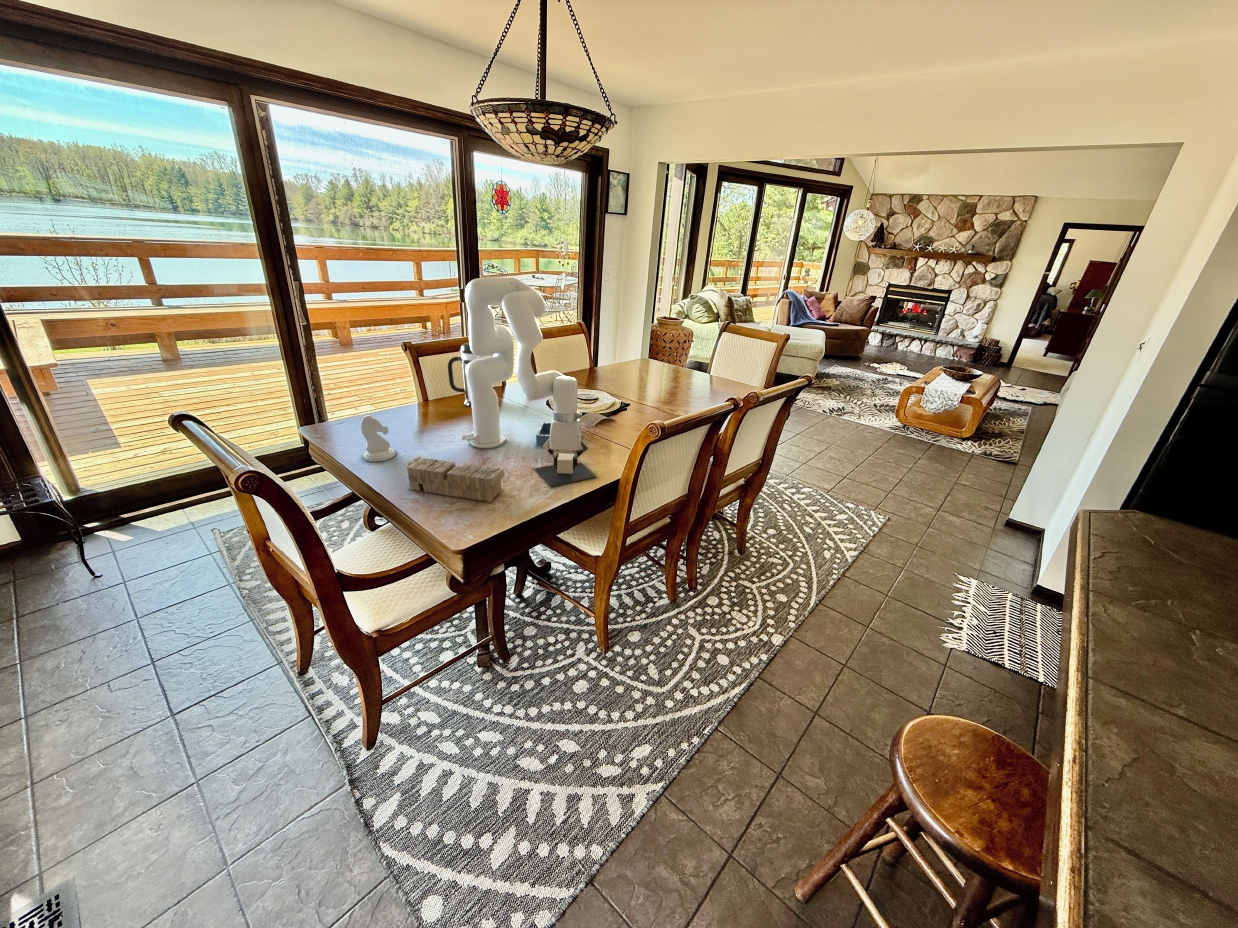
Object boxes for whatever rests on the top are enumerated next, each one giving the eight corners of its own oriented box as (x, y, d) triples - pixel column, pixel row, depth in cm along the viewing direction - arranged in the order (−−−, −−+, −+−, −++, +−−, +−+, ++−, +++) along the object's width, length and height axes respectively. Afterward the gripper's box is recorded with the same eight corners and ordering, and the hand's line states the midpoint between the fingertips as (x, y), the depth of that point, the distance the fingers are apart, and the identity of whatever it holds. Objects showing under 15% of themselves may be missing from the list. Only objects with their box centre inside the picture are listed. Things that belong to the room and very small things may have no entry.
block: (557, 473, 158) (557, 459, 156) (559, 466, 163) (559, 453, 160) (572, 473, 158) (572, 460, 156) (573, 467, 163) (573, 453, 160)
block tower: (406, 491, 147) (494, 503, 141) (401, 466, 143) (491, 477, 137) (421, 480, 154) (506, 490, 148) (417, 456, 150) (503, 466, 144)
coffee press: (485, 395, 232) (480, 332, 219) (501, 404, 222) (497, 338, 209) (450, 401, 221) (443, 335, 208) (466, 411, 211) (460, 342, 198)
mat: (551, 487, 152) (551, 486, 152) (535, 469, 163) (535, 468, 162) (596, 477, 159) (596, 476, 159) (578, 461, 170) (578, 460, 170)
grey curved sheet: (592, 428, 199) (592, 422, 198) (575, 422, 205) (575, 416, 204) (615, 420, 209) (616, 415, 208) (599, 414, 215) (599, 409, 214)
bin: (536, 447, 179) (536, 435, 177) (542, 434, 191) (541, 422, 189) (578, 449, 179) (578, 437, 177) (581, 435, 191) (581, 424, 189)
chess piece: (397, 458, 165) (390, 417, 159) (365, 463, 160) (357, 421, 154) (392, 448, 173) (385, 408, 166) (362, 452, 168) (353, 412, 161)
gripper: (593, 413, 156) (591, 463, 163) (540, 411, 155) (541, 461, 163) (591, 421, 149) (590, 473, 157) (536, 418, 149) (538, 471, 156)
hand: (565, 467), depth 160 cm, fingers closed on block, 5 cm apart
